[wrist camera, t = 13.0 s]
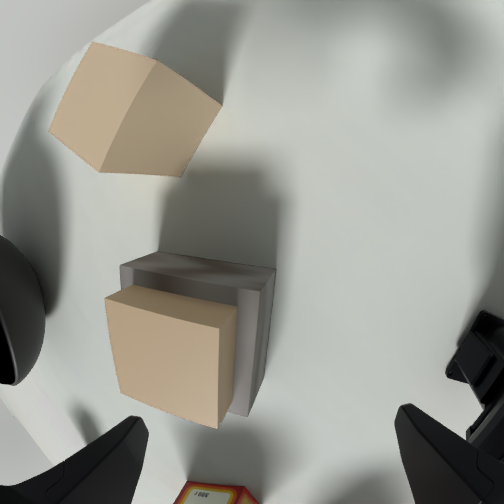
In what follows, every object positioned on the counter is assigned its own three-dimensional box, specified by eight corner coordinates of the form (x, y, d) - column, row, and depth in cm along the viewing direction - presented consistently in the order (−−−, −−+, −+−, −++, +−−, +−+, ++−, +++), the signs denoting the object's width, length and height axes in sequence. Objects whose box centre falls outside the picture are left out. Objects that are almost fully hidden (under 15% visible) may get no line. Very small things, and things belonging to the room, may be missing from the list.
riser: (276, 269, 21) (260, 291, 16) (263, 379, 23) (247, 416, 18) (157, 251, 23) (119, 265, 18) (161, 352, 25) (132, 379, 20)
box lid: (237, 306, 16) (219, 328, 14) (232, 401, 18) (217, 429, 15) (132, 284, 18) (104, 298, 15) (142, 373, 20) (120, 392, 17)
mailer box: (222, 105, 19) (157, 60, 11) (180, 177, 21) (98, 172, 13) (163, 79, 20) (91, 41, 11) (128, 143, 22) (47, 130, 13)
